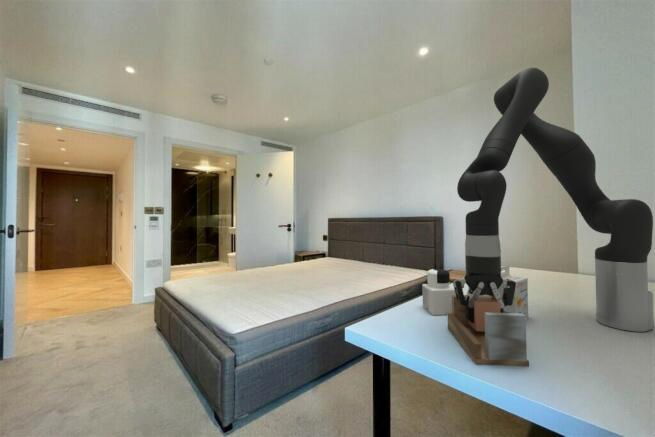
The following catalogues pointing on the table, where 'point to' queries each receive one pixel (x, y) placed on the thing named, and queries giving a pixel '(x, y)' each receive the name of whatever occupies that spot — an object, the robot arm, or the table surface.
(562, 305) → the table surface
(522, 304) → the ink box
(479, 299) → the book
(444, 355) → the table surface
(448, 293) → the container
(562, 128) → the robot arm
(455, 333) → the shelf
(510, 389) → the table surface
